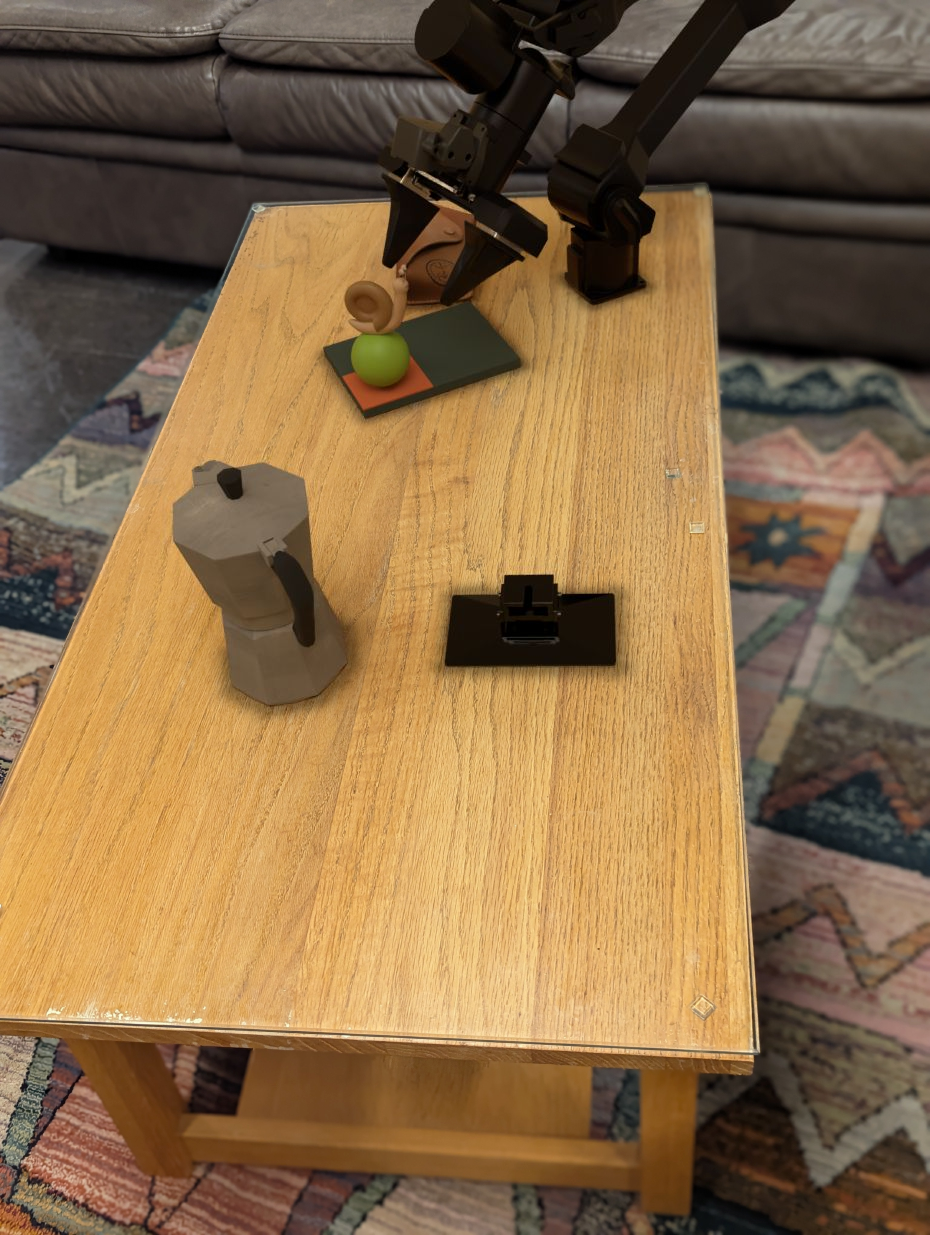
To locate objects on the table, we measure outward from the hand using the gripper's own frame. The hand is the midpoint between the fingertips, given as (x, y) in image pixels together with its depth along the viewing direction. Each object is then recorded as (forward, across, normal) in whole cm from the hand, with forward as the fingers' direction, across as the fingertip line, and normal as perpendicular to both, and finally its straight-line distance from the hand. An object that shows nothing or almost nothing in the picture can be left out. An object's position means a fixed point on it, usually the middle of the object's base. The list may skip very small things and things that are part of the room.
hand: (414, 285), depth 97 cm
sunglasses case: (-2, -16, +16) cm, 23 cm away
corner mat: (+6, -2, +7) cm, 10 cm away
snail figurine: (+9, 0, +3) cm, 9 cm away
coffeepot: (+27, +24, -14) cm, 39 cm away
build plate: (+16, +33, -3) cm, 37 cm away
